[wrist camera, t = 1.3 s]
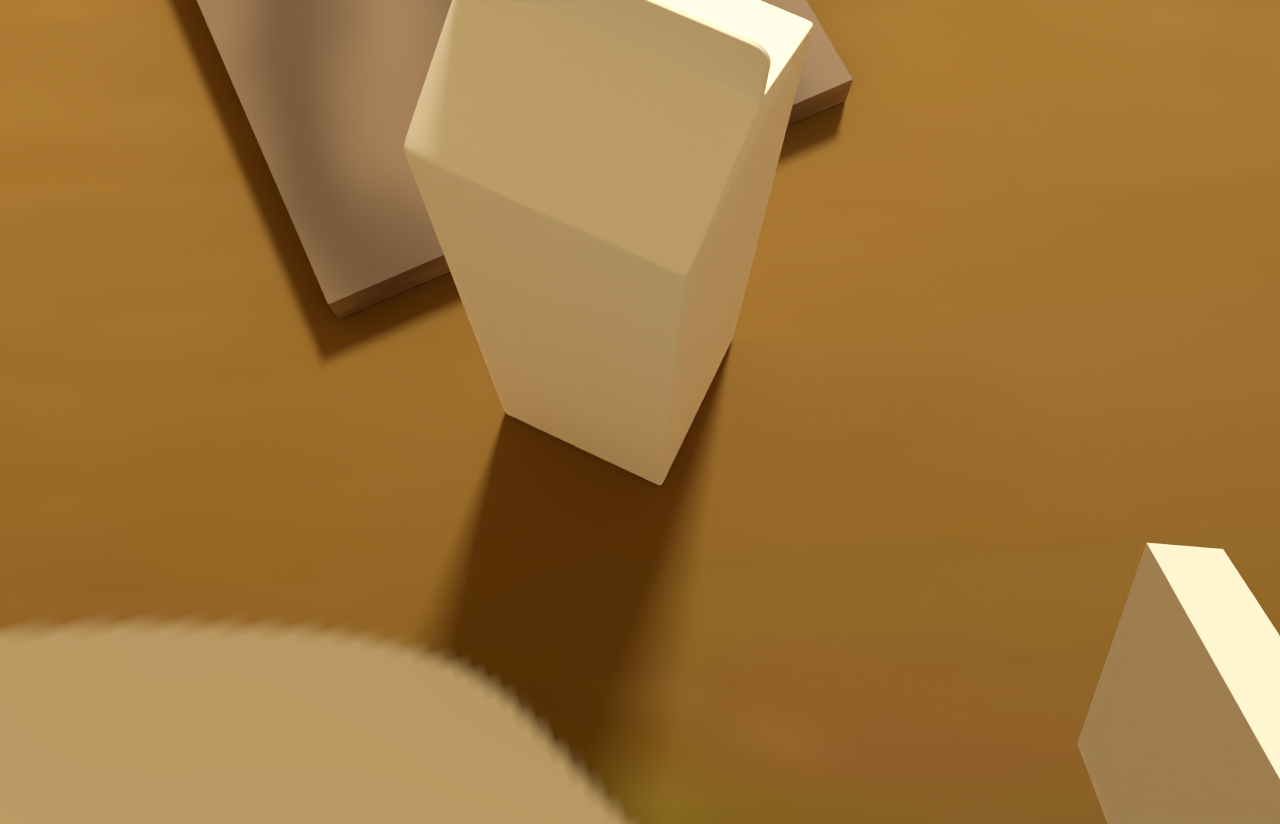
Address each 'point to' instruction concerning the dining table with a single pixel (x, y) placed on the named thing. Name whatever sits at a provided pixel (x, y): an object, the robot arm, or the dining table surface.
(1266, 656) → the robot arm
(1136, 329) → the dining table surface
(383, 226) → the tan board
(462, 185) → the milk
